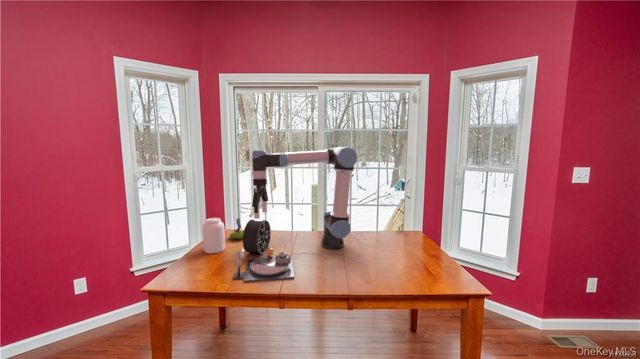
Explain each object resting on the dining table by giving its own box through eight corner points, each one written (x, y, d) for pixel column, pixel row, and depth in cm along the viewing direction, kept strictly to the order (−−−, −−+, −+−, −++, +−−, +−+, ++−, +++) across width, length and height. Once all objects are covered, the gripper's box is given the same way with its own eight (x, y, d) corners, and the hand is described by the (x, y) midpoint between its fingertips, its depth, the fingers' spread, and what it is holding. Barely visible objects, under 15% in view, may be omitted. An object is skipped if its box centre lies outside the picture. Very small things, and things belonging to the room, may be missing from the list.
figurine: (231, 235, 195) (231, 215, 193) (249, 234, 197) (248, 214, 195) (227, 242, 182) (226, 220, 180) (246, 241, 183) (245, 220, 181)
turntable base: (291, 258, 155) (291, 256, 155) (294, 278, 132) (293, 276, 132) (248, 261, 152) (248, 259, 151) (243, 282, 128) (243, 279, 128)
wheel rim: (257, 259, 154) (256, 225, 152) (243, 257, 156) (242, 224, 154) (270, 246, 174) (270, 216, 171) (257, 245, 176) (257, 215, 173)
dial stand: (245, 273, 136) (244, 248, 135) (243, 278, 131) (242, 252, 130) (234, 274, 136) (233, 248, 134) (233, 279, 131) (232, 252, 129)
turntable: (288, 257, 153) (288, 246, 152) (289, 274, 133) (289, 261, 132) (252, 260, 150) (251, 248, 149) (248, 277, 130) (248, 263, 129)
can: (207, 255, 159) (206, 223, 156) (200, 249, 168) (199, 218, 166) (228, 250, 167) (227, 219, 164) (220, 244, 176) (219, 215, 174)
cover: (290, 258, 147) (290, 249, 146) (291, 265, 139) (291, 255, 138) (275, 259, 146) (275, 250, 145) (275, 266, 138) (275, 256, 137)
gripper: (260, 175, 162) (261, 209, 164) (244, 180, 137) (246, 221, 140) (272, 175, 161) (273, 210, 163) (259, 181, 136) (260, 221, 139)
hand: (261, 215), depth 151 cm, fingers open, 13 cm apart
